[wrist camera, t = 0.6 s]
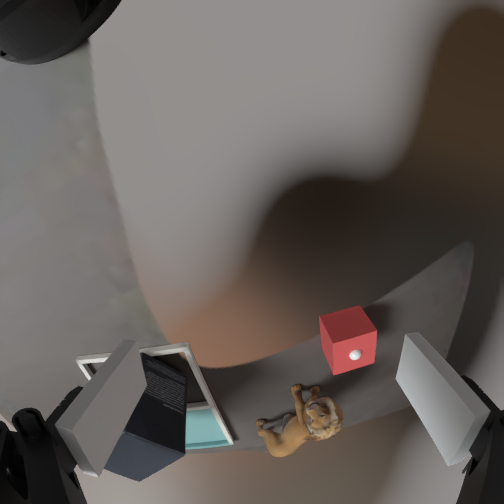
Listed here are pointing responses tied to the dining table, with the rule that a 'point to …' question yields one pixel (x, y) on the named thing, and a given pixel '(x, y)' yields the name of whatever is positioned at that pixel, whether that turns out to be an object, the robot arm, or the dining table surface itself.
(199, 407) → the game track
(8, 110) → the dining table surface
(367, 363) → the red block
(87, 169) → the dining table surface
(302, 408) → the lion figurine
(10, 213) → the dining table surface
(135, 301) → the dining table surface
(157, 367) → the small box
